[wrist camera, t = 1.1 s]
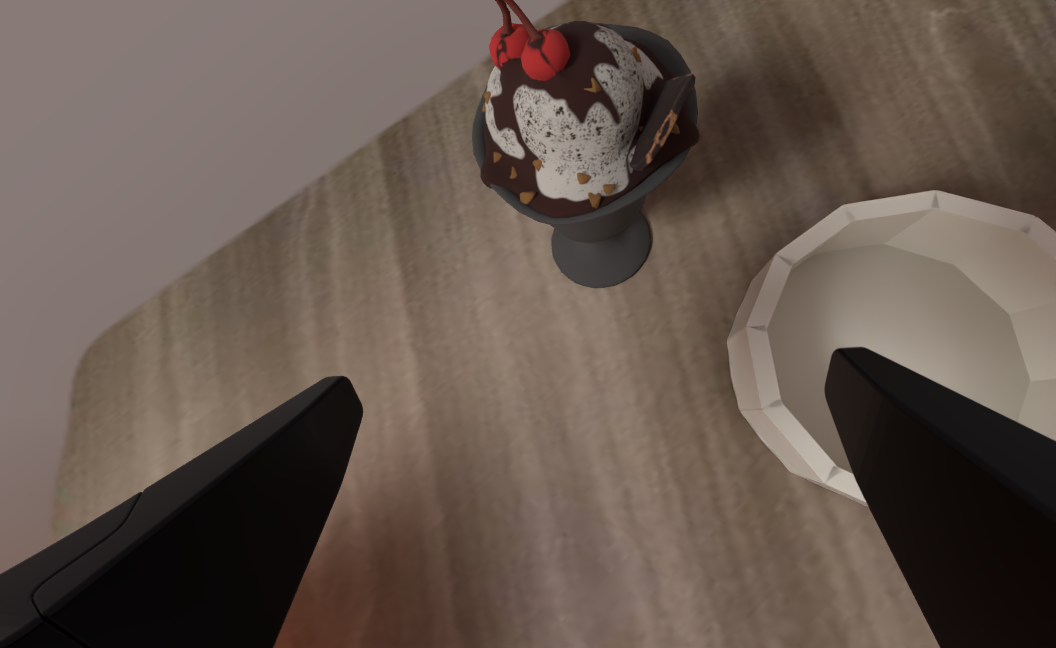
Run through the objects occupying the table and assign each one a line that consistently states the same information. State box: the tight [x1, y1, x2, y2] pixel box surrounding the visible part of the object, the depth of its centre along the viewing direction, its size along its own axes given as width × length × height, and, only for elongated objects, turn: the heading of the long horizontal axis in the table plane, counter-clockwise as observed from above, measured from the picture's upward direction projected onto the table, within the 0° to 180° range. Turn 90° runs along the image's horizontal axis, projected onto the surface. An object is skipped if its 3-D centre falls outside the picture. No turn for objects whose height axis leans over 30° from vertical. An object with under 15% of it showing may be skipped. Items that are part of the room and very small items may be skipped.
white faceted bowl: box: [727, 190, 1056, 507], centre depth 17 cm, size 11×11×4 cm
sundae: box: [472, 0, 700, 288], centre depth 16 cm, size 7×7×15 cm
